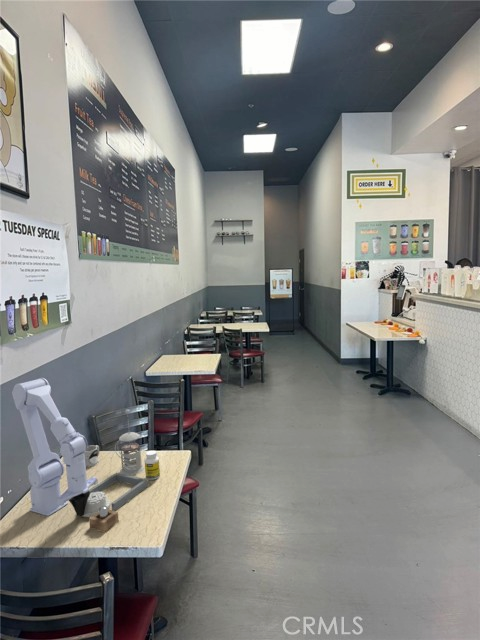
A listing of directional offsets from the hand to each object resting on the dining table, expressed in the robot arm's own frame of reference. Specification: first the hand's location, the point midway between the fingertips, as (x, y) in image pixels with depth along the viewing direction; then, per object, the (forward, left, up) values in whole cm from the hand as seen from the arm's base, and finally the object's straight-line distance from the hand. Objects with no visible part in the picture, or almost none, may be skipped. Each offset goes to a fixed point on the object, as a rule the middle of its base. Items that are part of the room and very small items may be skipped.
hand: (80, 515), depth 128 cm
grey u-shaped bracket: (0, +16, -1) cm, 16 cm away
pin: (+10, 0, -1) cm, 10 cm away
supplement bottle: (+5, +31, -1) cm, 31 cm away
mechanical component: (0, +6, -1) cm, 6 cm away
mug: (-29, +33, -1) cm, 44 cm away
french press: (-8, +33, -1) cm, 34 cm away
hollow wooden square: (+10, 0, -1) cm, 10 cm away
